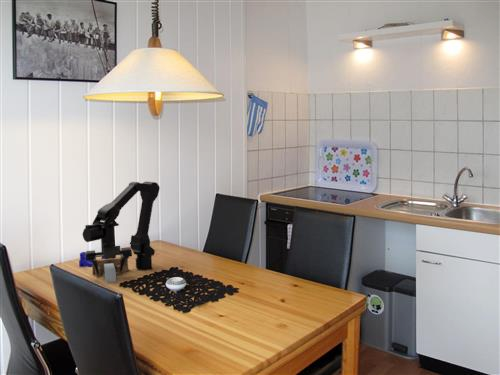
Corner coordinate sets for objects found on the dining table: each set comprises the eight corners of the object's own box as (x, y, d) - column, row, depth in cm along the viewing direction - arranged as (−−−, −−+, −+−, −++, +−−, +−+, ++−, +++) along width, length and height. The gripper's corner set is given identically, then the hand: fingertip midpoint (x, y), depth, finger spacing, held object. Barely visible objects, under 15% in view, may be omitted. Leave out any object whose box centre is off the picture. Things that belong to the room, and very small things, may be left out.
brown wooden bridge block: (127, 269, 231) (127, 256, 230) (129, 273, 225) (128, 260, 224) (92, 273, 226) (92, 259, 225) (93, 277, 220) (92, 263, 219)
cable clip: (79, 267, 237) (78, 254, 236) (82, 264, 241) (82, 251, 240) (105, 267, 236) (104, 254, 235) (108, 264, 241) (107, 251, 240)
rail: (113, 274, 225) (113, 263, 224) (116, 282, 214) (115, 270, 213) (104, 275, 224) (103, 264, 223) (106, 283, 212) (105, 271, 212)
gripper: (85, 243, 206) (87, 281, 208) (132, 239, 212) (134, 276, 214) (84, 237, 216) (86, 273, 218) (129, 234, 222) (131, 269, 224)
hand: (109, 273), depth 218 cm, fingers open, 9 cm apart
